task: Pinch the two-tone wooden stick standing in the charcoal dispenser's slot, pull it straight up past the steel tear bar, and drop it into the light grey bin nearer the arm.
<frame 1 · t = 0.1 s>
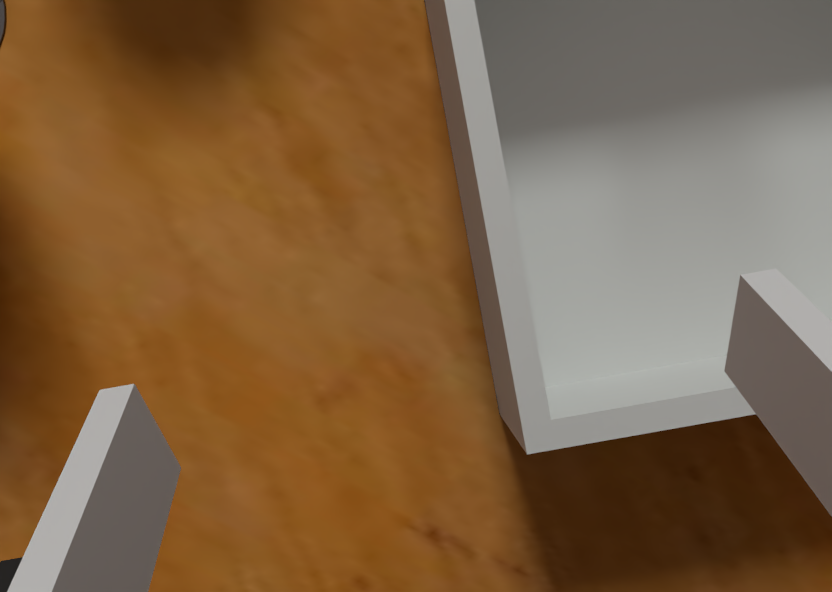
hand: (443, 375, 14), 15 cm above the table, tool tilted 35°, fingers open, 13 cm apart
bin: (674, 162, 29), on the table
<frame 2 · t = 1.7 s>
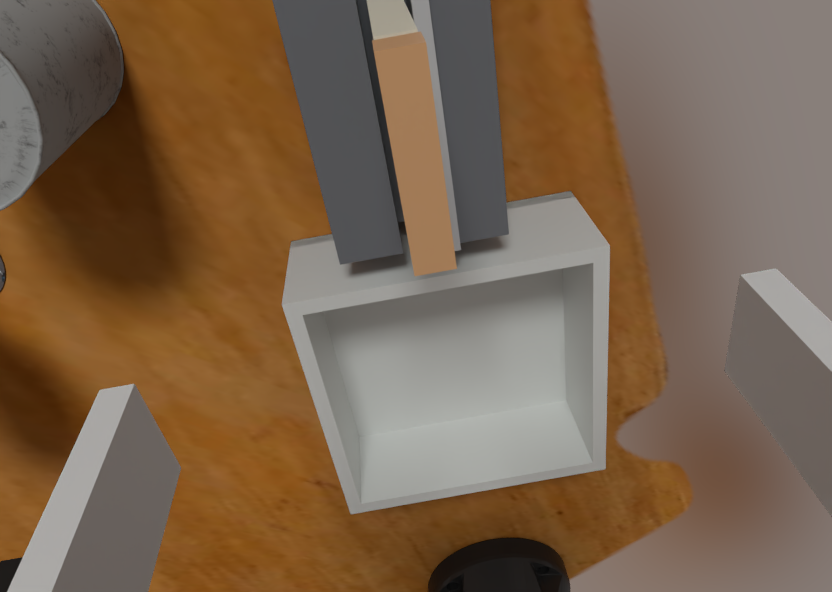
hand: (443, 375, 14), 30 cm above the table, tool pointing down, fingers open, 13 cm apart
bin: (448, 328, 51), on the table
two-tone wooden stick: (390, 57, 35), point 4 cm above the table, touching dispenser
dispenser: (386, 41, 38), on the table
grey cylinder: (37, 48, 37), on the table
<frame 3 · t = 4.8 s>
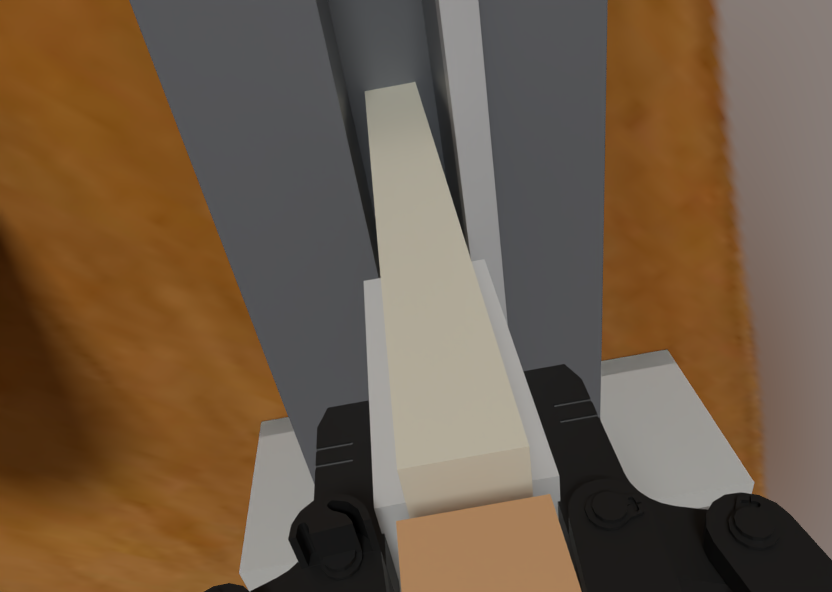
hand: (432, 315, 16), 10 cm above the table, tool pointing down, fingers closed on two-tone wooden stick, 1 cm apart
bin: (482, 512, 37), on the table
two-tone wooden stick: (411, 208, 21), point 4 cm above the table, touching dispenser, gripper
dispenser: (402, 160, 24), on the table
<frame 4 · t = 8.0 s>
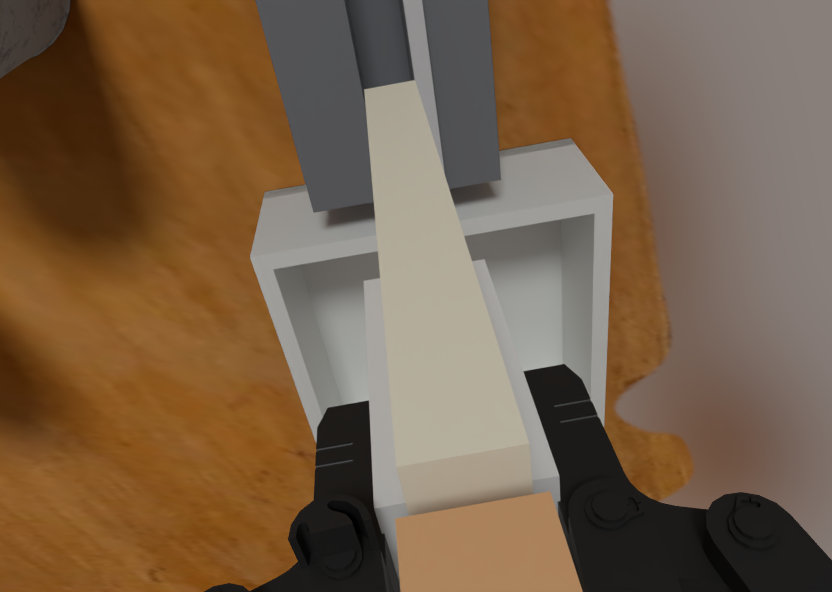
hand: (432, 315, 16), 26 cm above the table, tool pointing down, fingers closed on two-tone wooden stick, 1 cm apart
bin: (436, 289, 47), on the table
two-tone wooden stick: (411, 206, 21), point 20 cm above the table, touching gripper
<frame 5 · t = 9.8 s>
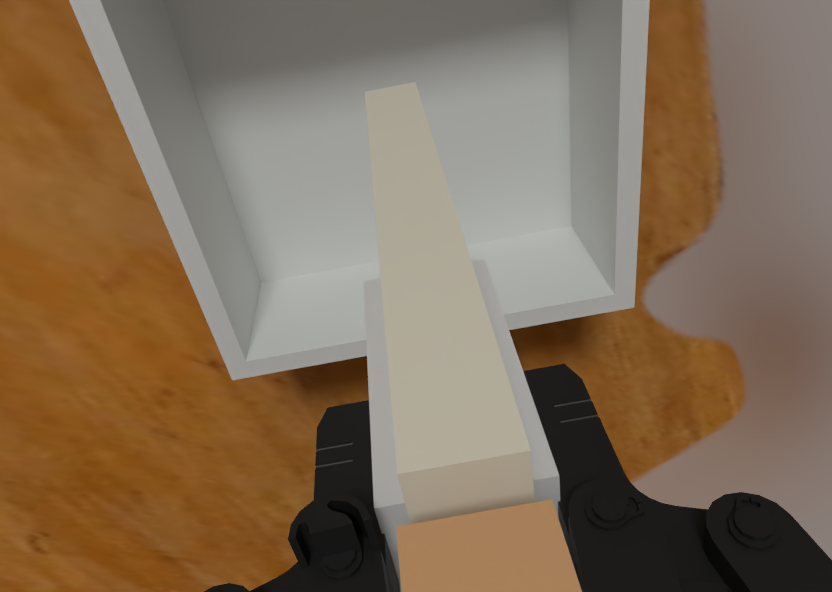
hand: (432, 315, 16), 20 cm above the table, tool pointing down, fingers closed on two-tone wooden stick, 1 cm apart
bin: (386, 93, 32), on the table
two-tone wooden stick: (411, 208, 21), point 14 cm above the table, touching gripper
when the fingers open (9 cm above the table, at t = 11.4 s): two-tone wooden stick drops 3 cm, resting on bin.
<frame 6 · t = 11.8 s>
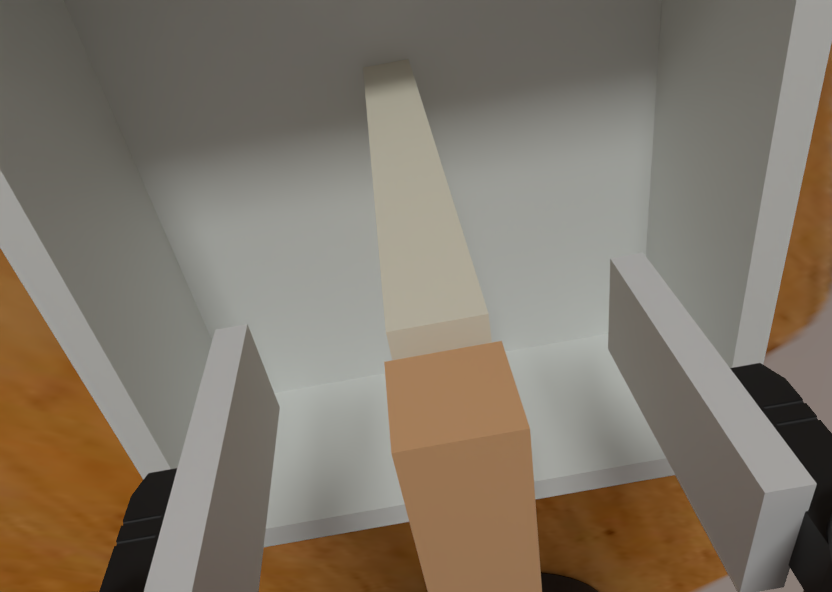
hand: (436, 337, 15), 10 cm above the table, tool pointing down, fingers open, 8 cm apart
bin: (403, 165, 24), on the table
two-tone wooden stick: (405, 176, 23), point 1 cm above the table, touching bin
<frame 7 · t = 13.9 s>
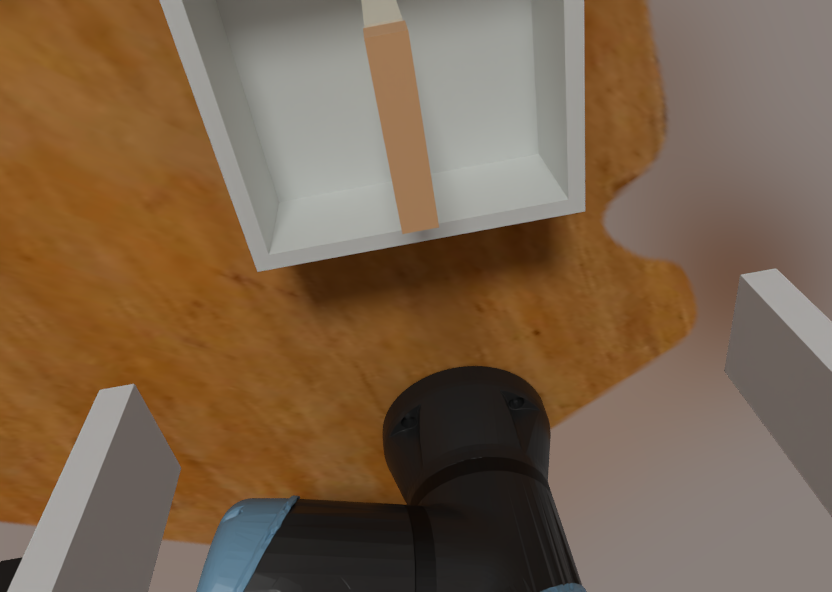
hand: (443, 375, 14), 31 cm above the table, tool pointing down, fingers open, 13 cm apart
bin: (383, 37, 39), on the table
two-tone wooden stick: (384, 41, 38), point 1 cm above the table, touching bin
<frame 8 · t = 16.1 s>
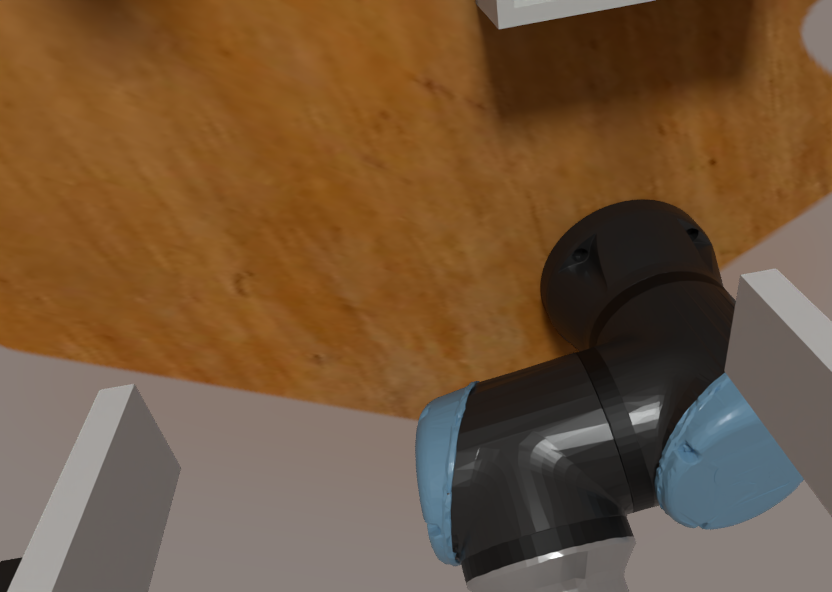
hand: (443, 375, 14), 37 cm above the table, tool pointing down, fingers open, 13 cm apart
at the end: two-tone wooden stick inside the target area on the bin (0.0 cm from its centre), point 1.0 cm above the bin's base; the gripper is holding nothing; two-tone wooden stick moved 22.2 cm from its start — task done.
